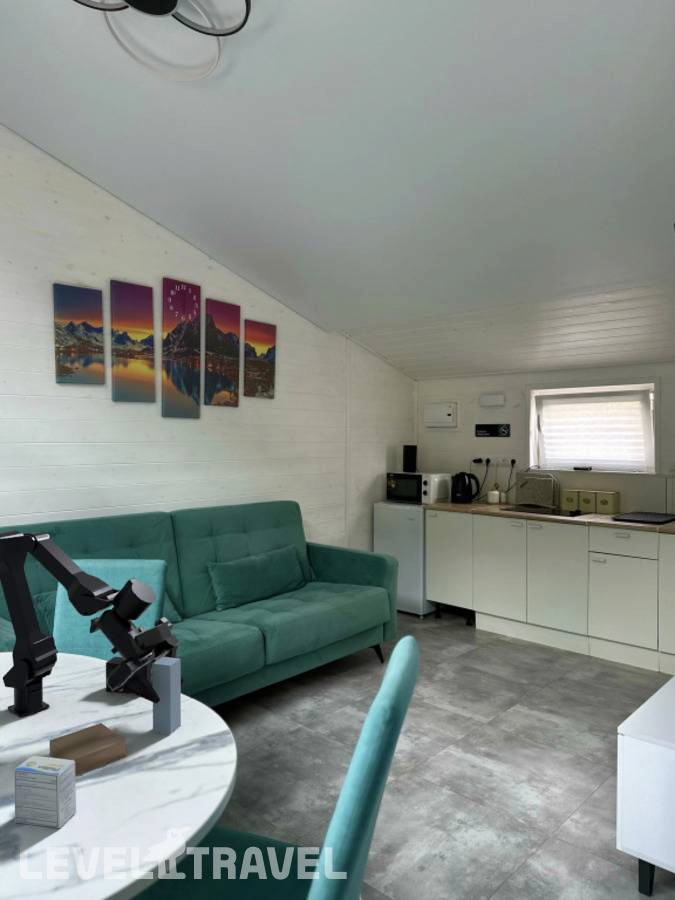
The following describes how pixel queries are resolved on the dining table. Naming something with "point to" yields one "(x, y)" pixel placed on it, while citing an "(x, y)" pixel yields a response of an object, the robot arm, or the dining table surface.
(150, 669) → the digital camera
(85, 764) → the walnut block
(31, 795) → the medicine box
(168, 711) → the slate pillar
